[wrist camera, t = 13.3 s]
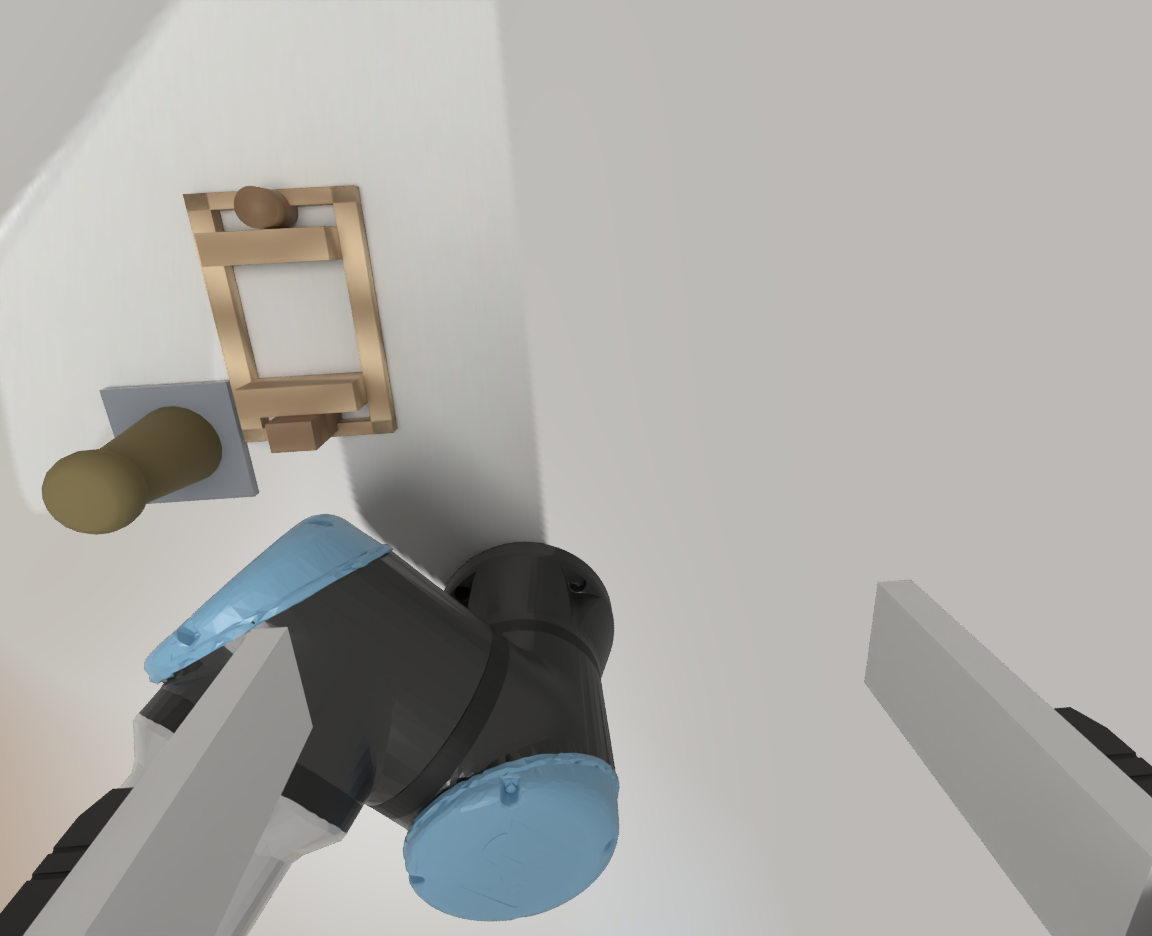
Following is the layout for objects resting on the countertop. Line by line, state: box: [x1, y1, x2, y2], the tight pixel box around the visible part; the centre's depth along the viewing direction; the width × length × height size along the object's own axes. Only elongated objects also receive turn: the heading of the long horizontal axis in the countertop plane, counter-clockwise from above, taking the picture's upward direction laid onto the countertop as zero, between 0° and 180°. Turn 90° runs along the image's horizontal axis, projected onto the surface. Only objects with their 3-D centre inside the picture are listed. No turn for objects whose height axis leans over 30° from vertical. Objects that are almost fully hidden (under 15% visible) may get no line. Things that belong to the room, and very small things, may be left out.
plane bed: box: [183, 185, 397, 453], centre depth 41 cm, size 17×11×6 cm, turn 3°
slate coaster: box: [100, 380, 259, 504], centre depth 46 cm, size 9×9×1 cm
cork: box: [42, 406, 222, 534], centre depth 41 cm, size 6×6×11 cm
